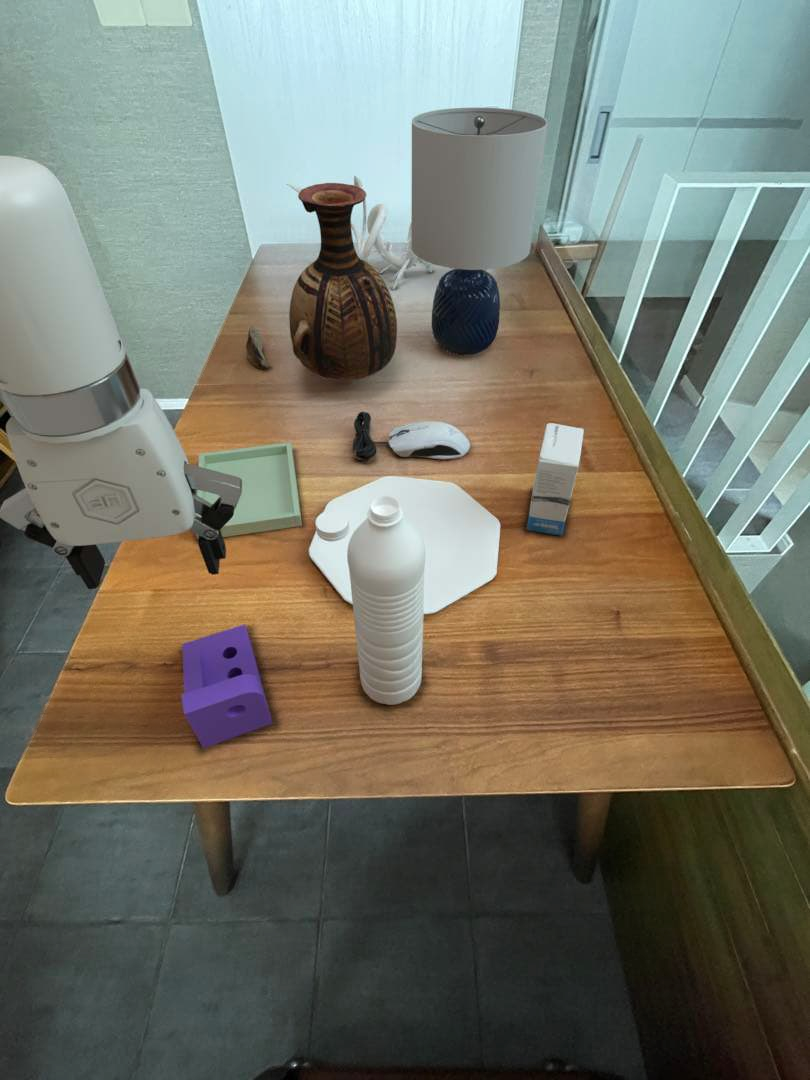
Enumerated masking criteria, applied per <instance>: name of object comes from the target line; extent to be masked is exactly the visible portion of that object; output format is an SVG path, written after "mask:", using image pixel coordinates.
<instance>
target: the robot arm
mask: <svg viewBox="0 0 810 1080" xmlns="http://www.w3.org/2000/svg"><path fill="white" fill-rule="evenodd" d="M127 353H128V352H127V351H126V348H125V346H124V343H123V341H122V338H121V335H120V332H119V330H118V327H117V324H116V322H115V319H114V315H113V313H112V311H111V308H110V305H109V302H108V300H107V297H106V295H105V292H104V289H103V286H102V284H101V281H100V278H99V275H98V272H97V270H96V267H95V264H94V262H93V260H92V256H91V254H90V251H89V249H88V246H87V243H86V241H85V238H84V236H83V233H82V230H81V227H80V225H79V222H78V219H77V217H76V215H75V211H74V209H73V205H72V204H71V201H70V199H69V197H68V194H67V192H66V190H65V187H64V186H63V184H62V183H61V182H60V180H59V179H58V178H57V176H56V175H55V174H54V173H53V172H52V171H51V170H50V169H49V168H48V167H46V166H45V165H43V164H41V163H39V162H37V161H36V160H33V159H29V158H25V157H20V156H13V155H0V404H3V405H4V407H5V409H6V411H7V413H8V414H9V416H10V417H9V419H8V420H7V422H6V424H5V431H6V435H7V439H8V443H9V446H10V449H11V452H12V455H13V459H14V461H15V465H16V467H17V470H18V473H19V474H20V478H21V480H22V482H23V484H24V488H23V489H21V490H19V491H18V492H16V493H15V494H13V495H11V496H10V497H8V498H6V499H5V500H3V503H2V505H1V506H0V519H1V520H3V521H5V522H6V523H7V524H9V525H11V526H13V527H14V528H16V529H17V530H18V531H20V530H21V531H22V532H24V533H23V534H24V536H25V537H26V538H27V539H29V540H31V541H34V542H37V543H39V544H42V545H44V546H47V547H49V548H52V553H54V555H55V556H58V557H65V559H66V560H67V562H68V564H69V565H70V566H71V568H72V570H73V571H74V573H75V575H76V576H79V577H80V578H81V580H82V582H83V583H84V585H85V586H86V588H87V589H88V590H94V589H97V588H98V587H99V586H100V584H101V581H102V578H103V577H102V576H103V574H104V573H103V572H104V570H105V565H106V561H105V558H104V556H103V554H102V553H101V550H100V549H99V547H98V546H97V545H104V544H113V543H122V542H132V541H140V540H148V539H149V540H150V539H157V538H166V537H172V536H177V535H180V534H183V533H185V532H188V531H190V532H192V533H194V534H195V535H196V534H198V535H199V538H198V539H197V545H198V549H199V550H200V554H201V556H202V558H203V562H204V564H205V567H206V570H207V572H208V574H210V575H212V576H214V575H219V573H220V561H221V560H225V559H226V558H227V547H226V542H225V540H224V537H223V536H222V533H221V530H220V529H221V528H222V527H223V526H224V525H225V524H226V523H227V522H228V521H229V520H230V519H231V518H232V517H233V515H234V510H235V508H236V506H237V504H238V501H239V498H240V496H241V493H242V479H241V478H239V477H236V476H232V475H229V474H225V473H221V472H217V471H213V470H210V469H206V468H202V467H198V465H194V464H191V463H190V461H189V460H188V458H187V455H186V453H185V450H184V448H183V446H182V444H181V442H180V440H179V438H178V435H177V434H176V432H175V430H174V428H173V426H172V424H171V422H170V420H169V419H168V417H167V415H166V414H165V412H164V410H163V409H162V407H161V405H160V404H159V403H158V401H157V399H155V397H154V395H153V394H152V393H151V391H150V390H149V389H147V388H143V387H140V386H139V383H138V381H137V378H136V375H135V373H134V370H133V366H132V364H131V361H130V359H129V356H128V354H127ZM197 490H201V491H205V492H209V493H213V494H217V495H219V496H220V497H219V498H218V499H217V500H216V502H215V503H214V504H211V503H209V502H207V501H206V500H204V499H202V498H201V497H199V496H197ZM35 510H36V511H35ZM195 513H197V514H198V515H200V516H202V517H201V518H200V517H199V516H197V515H195Z"/></svg>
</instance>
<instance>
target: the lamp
mask: <svg viewBox="0 0 810 1080" xmlns="http://www.w3.org/2000/svg"><path fill="white" fill-rule="evenodd" d="M548 127H549V121H548V120H547V118H545V117H544V116H541V115H540V114H536V113H533V112H529V111H525V110H519V109H518V110H517V109H511V108H501V107H500V108H499V107H477V106H476V107H473V106H472V107H452V108H442V109H436V110H435V109H434V110H429V111H426V112H423V113H419V114H417V115H416V116H413V118H412V119H411V222H412V229H411V248H412V251H413V253H414V254H415V255H416V256H417V257H419V258H420V259H422V260H424V261H426V262H429V263H431V265H435V266H437V267H438V266H439V267H442V268H443V267H444V268H448V269H451V270H449V271H447V272H446V273H444V274H443V275H442V276H441V277H440V279H439V280H438V284H437V285H436V288H435V292H434V295H433V296H434V297H433V301H432V309H431V322H430V323H431V324H430V325H431V331H432V336H433V339H434V340H435V342H436V344H438V346H440V348H441V349H443V350H444V351H447V353H451V354H454V355H458V356H473V355H477V354H480V353H481V352H484V351H485V350H487V349H488V348H490V346H491V345H492V344H493V343H494V341H495V339H496V337H497V333H498V331H499V325H500V317H501V313H500V312H501V311H500V310H501V298H500V291H499V287H498V282H497V281H496V278H495V277H494V276H493V275H492V274H490V273H489V272H488V271H487V270H493V269H494V270H495V269H500V268H505V267H510V266H513V265H516V264H518V263H520V262H521V261H523V260H525V259H526V258H527V257H528V256H529V255H530V252H531V246H532V240H533V233H534V227H535V219H536V218H535V217H536V212H537V204H538V196H539V191H540V182H541V175H542V168H543V162H544V155H545V147H546V140H547V132H548Z"/></svg>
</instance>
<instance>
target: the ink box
mask: <svg viewBox="0 0 810 1080" xmlns="http://www.w3.org/2000/svg"><path fill="white" fill-rule="evenodd" d="M584 431H585V430H584V428H583V427H576V426H570V425H564V424H560V423H553V422H549V423H546V425H545V430H544V434H543V440H542V444H541V448H540V452H539V457H538V462H537V466H536V471H535V477H534V481H533V487H532V493H531V499H530V505H529V510H528V517H527V523H526V530H527V531H529V532H536V533H541V534H547V535H553V536H554V535H555V536H559V537H560V536H563V533H564V528H565V524H566V520H567V516H568V511H569V507H570V504H571V500H572V495H573V492H574V487H575V483H576V479H577V475H578V472H579V471H578V470H579V466H580V462H581V455H582V447H583V440H584Z"/></svg>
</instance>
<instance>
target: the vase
mask: <svg viewBox="0 0 810 1080" xmlns="http://www.w3.org/2000/svg"><path fill="white" fill-rule="evenodd" d="M301 189H302V190H301V191H300V193H298V194H297V195H298V197H297V198H298V199H299V200H300V202H301V203H302V205H303V208H304V210H305V212H307V213H310V214H311V213H314V212H315V214H316V218H317V221H318V227H319V232H320V233H319V234H320V249H319V253H318V256H317V258H316V260H314V261H313V262H311V263H310V264H309V265H308V266H306V267H305V269H303V271H302V272H301V273H300V274H299V276H298V278H297V280H296V281H295V284H294V287H293V290H292V293H291V298H290V303H289V315H288V316H289V318H288V319H289V320H288V321H289V333H290V339H291V345H292V352H293V354H294V356H295V358H296V359H297V360H299V362H300V363H301V364H302V365H303V367H305V369H307V370H308V371H309V372H310V373H312V374H314V375H315V376H317V377H321V378H324V379H328V380H334V381H355V380H361V379H365V378H368V377H370V376H373V375H375V374H376V373H378V372H380V371H381V370H383V369H384V368H386V367H387V366H388V365H389V363H390V362H391V361H392V359H393V357H394V354H395V351H396V346H397V339H398V338H397V337H398V336H397V335H398V320H397V314H396V309H395V304H394V302H393V298H392V296H391V292H390V291H389V288H388V286H387V284H386V282H385V281H384V279H383V276H381V273H380V272H378V270H377V269H376V268H375V267H374V266H372V265H371V264H370V263H368V262H367V261H366V262H365V261H363V260H361V259H360V256H359V254H358V253H357V250H356V248H355V245H354V240H353V233H352V232H353V231H352V228H351V222H352V213H353V209H354V207H355V206H356V205H359V204H361V203H363V201H364V200H365V199H366V197H367V192H366V191H365V190H364V189H363V188H362V189H361V188H360V187H357V186H355V185H354V184H348V183H341V182H324V183H317V184H313V185H309V186H307V187H305V188H301ZM379 273H380V274H379Z"/></svg>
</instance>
